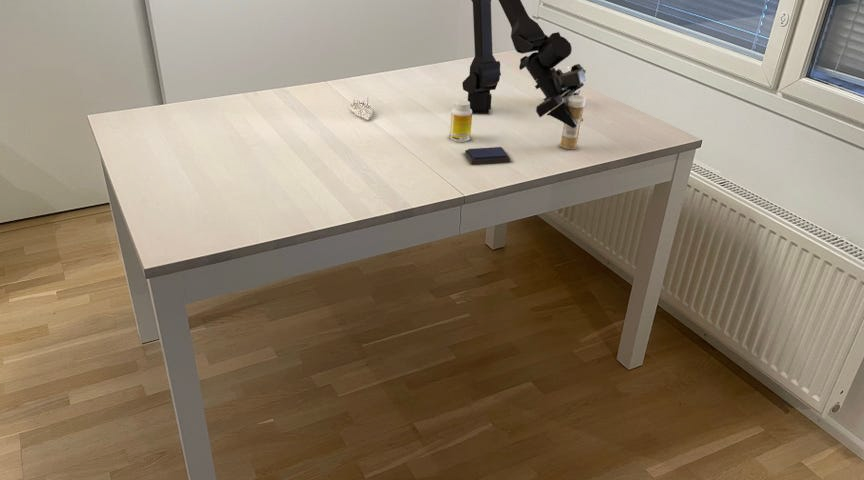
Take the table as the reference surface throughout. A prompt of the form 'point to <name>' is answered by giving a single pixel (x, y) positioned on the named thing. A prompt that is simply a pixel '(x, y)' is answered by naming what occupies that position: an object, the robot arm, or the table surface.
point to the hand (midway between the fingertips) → (578, 124)
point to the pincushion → (361, 109)
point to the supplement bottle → (461, 121)
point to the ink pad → (487, 155)
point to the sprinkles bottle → (576, 111)
